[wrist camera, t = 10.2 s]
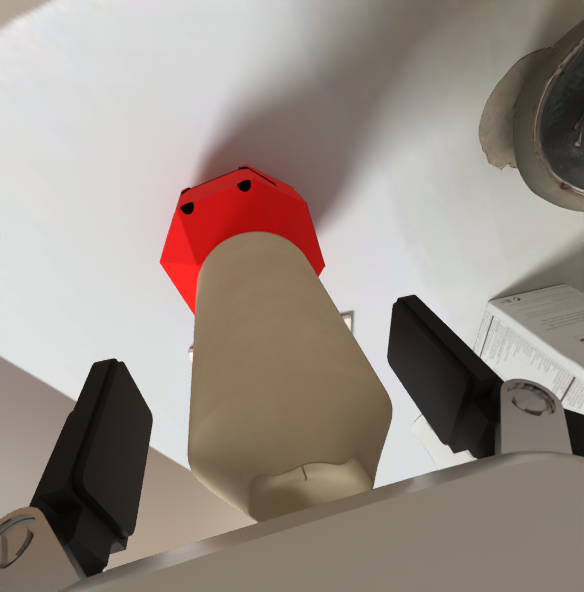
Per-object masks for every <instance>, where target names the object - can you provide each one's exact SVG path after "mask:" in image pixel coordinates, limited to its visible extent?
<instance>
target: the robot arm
mask: <svg viewBox="0 0 584 592" xmlns="http://www.w3.org/2000/svg"><path fill="white" fill-rule="evenodd" d="M387 359H388V363H389V365H390V367H391V368H392V370H393V371H394V373H395V374H396V376H397V377H398V379H399V380H400V382H401V383H402V385H403V386H404V388H405V389H406V391H407V392H408V393H409V395H410V396H411V398H412V399H413V401H414V402H415V404H416V405H417V407H418V408H419V410H420V411H421V413H422V414H423V416H424V417H425V419H426V420H427V422H428V423H429V425H430V426H431V428H432V429H433V431H434V432H435V434H436V435H437V437H438V438H439V440H440V441H441V443H442V444H444V445H448V446H449V448H450V449H451V451H452V452H453V453H454V454H456V453H459V452H462V451H466V450H468V451H469V452H470V454H471V455H472V456H473V457H474V461H470V462H467V463H463V464H459V465H455V466H452V467H448V468H444V469H441V470H437V471H433V472H430V473H427V474H423V475H420V476H416V477H413V478H409V479H406V480H403V481H399V482H396V483H392V484H389V485H385V486H382V487H378V488H375V489H372V490H368V491H365V492H361V493H358V494H355V495H351V496H348V497H344V498H341V499H338V500H334V501H331V502H327V503H324V504H321V505H317V506H314V507H311V508H307V509H304V510H301V511H297V512H294V513H290V514H287V515H284V516H280V517H277V518H274V519H270V520H267V521H264V522H260V523H257V524H254V525H250V526H247V527H244V528H241V529H238V530H234V531H230V532H227V533H224V534H220V535H217V536H214V537H211V538H207V539H204V540H201V541H198V542H194V543H191V544H187V545H184V546H181V547H177V548H174V549H171V550H168V551H165V552H162V553H159V554H156V555H152V556H149V557H146V558H143V559H140V560H137V561H134V562H131V563H127V564H125V565H121V566H118V567H115V568H112V569H110V570H106V568H105V567H106V566H107V563H108V559H109V555H110V554H112V553H116V552H119V551H123V550H126V546H127V540H128V536H131V535H132V534H133V533H134V530H135V526H136V519H137V514H138V507H139V501H140V495H141V489H142V484H143V477H144V471H145V465H146V460H147V453H148V447H149V441H150V435H151V429H152V423H153V418H152V413H151V411H150V409H149V407H148V406H147V404H146V402H145V400H144V398H143V396H142V395H141V393H140V391H139V389H138V387H137V385H136V384H135V382H134V380H133V378H132V376H131V375H130V373H129V371H128V369H127V367H126V365H125V364H124V362H122V361H121V362H118V361H117V360H116V359H114V358H113V359H108V360H104V361H99V362H95V363H94V364H93V365H92V367H91V370H90V372H89V374H88V377H87V379H86V382H85V384H84V386H83V389H82V391H81V393H80V396H79V398H78V401H77V403H76V405H75V408H74V410H73V411H72V412H71V413H70V414H69V416H68V418H67V420H66V422H65V424H64V427H63V429H62V431H61V434H60V436H59V438H58V440H57V443H56V445H55V448H54V450H53V452H52V455H51V457H50V459H49V461H48V464H47V466H46V468H45V471H44V473H43V475H42V478H41V480H40V482H39V484H38V487H37V489H36V492H35V494H34V496H33V498H32V501H31V503H30V505H29V507H25V508H20V509H17V510H15V511H13V512H11V513H9V514H7V515H6V516H4V517H3V518H1V519H0V592H584V414H580V413H577V412H574V411H571V410H568V409H565V408H563V406H562V403H561V401H560V400H559V398H558V397H557V396H556V395H555V394H554V393H553V392H552V391H550V390H549V389H548V388H546V387H544V386H543V385H541V384H539V383H536V382H533V381H531V380H526V379H520V378H519V379H510V380H507V381H505V382H504V381H503V380H502V379H501V378H500V377H499V376H498V375H497V374H496V373H495V372H494V371H493V370H492V369H491V368H490V367H489V366H488V365H487V364H486V363H485V362H484V361H483V360H482V359H481V358H480V357H479V356H478V355H477V354H476V353H475V352H474V351H473V350H472V349H471V348H470V347H469V346H467V345H466V344H465V343H464V342H463V341H462V340H461V339H460V338H459V337H458V336H457V335H456V334H455V333H454V332H453V331H452V330H451V329H450V328H449V327H448V326H447V325H446V324H445V323H444V322H443V321H442V320H441V319H440V318H439V317H438V316H437V315H436V314H435V313H434V312H433V311H432V310H430V309H429V308H428V307H427V306H426V305H425V304H424V303H423V302H422V301H421V300H420V299H419V298H418V297H417V296H416V295H410V296H405V297H400V298H398V299H397V302H396V303H394V304H393V308H392V317H391V326H390V335H389V345H388V354H387Z"/></svg>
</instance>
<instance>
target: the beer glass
mask: <svg viewBox="0 0 584 592" xmlns="http://www.w3.org/2000/svg"><path fill="white" fill-rule="evenodd" d="M411 431H412V434H413V436H414V437H415V438H416V439H417V441H418V442H419V443H420V444H421V445H422V446H423V448H424V449H425V450H426V451H427V453H428V454H429V456H430V458H431V459H432V461H433V463H434V465H435V467H436V469H437V470H441V469H444V468H448V467H452V466H455V465H459V464H463V463H467V462H470V461H474V457H473V456H472V455H471V454H470V452H469V451H468V450H466V451H462V452H459V453H456V454H454V453H453V452H452V451H451V449H450V448H449V446H448V445H444V444H442V443H441V441H440V440H439V438H438V437H437V435H436V434H435V432H434V431H433V429H432V428H431V426H430V425H429V423H428V422H427V420H426V419H425V417H424V416H423V414H422V415H421V416H420V417H419V418H418V419H417V420H416V421H415V422H414V423H413V425H412V429H411Z"/></svg>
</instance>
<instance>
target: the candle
mask: <svg viewBox="0 0 584 592" xmlns="http://www.w3.org/2000/svg"><path fill="white" fill-rule="evenodd" d="M391 419H392V403H391V400H390V397H389V395H388V393H387V391H386V390H385V388H384V386H383V385H382V383H381V381H380V380H379V378H378V376H377V375H376V373H375V371H374V369H373V368H372V366H371V364H370V363H369V361H368V359H367V358H366V356H365V354H364V353H363V351H362V349H361V348H360V346H359V344H358V343H357V341H356V339H355V338H354V336H353V334H352V333H351V331H350V329H349V328H348V326H347V324H346V323H345V321H344V319H343V318H342V316H341V314H340V313H339V311H338V309H337V308H336V306H335V304H334V303H333V301H332V299H331V298H330V296H329V294H328V293H327V291H326V289H325V288H324V286H323V284H322V283H321V281H320V279H319V278H318V276H317V274H316V273H315V271H314V269H313V268H312V266H311V264H310V263H309V261H308V260H307V258H306V257H305V255H304V254H303V253H302V251H301V250H300V249H299V248H298V247H297V246H295V245H294V244H293V243H292V242H290V241H289V240H287V239H285V238H283V237H281V236H279V235H276V234H272V233H267V232H247V233H242V234H238V235H236V236H233V237H231V238H229V239H227V240H225V241H223V242H222V243H220V244H219V245H218V246H217V247H215V248H214V249H213V250H212V251H211V253H210V254H209V255H208V256H207V258H206V259H205V261H204V263H203V265H202V267H201V270H200V272H199V276H198V281H197V292H196V307H195V326H194V344H193V362H192V380H191V399H190V417H189V435H188V462H189V465H190V468H191V470H192V472H193V473H194V475H195V476H196V478H197V479H198V480H199V481H200V482H201V483H202V484H204V485H205V486H206V487H207V488H208V489H209V490H211V491H212V492H213V493H215V494H216V495H217V496H219V497H220V498H221V499H223V500H224V501H226V502H227V503H229V504H230V505H232V506H233V507H235V508H237V509H238V510H240V511H242V512H243V513H245V514H246V515H247V516H249V517H250V518H252V519H253V520H255V521H256V522H258V523H260V522H264V521H267V520H270V519H274V518H277V517H280V516H284V515H287V514H290V513H294V512H297V511H301V510H304V509H307V508H311V507H314V506H317V505H321V504H324V503H327V502H331V501H334V500H338V499H341V498H344V497H348V496H351V495H355V494H358V493H361V492H365V491H368V490H372V489H373V486H374V481H375V476H376V471H377V467H378V463H379V460H380V456H381V453H382V450H383V446H384V443H385V440H386V437H387V434H388V430H389V427H390V424H391Z"/></svg>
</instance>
